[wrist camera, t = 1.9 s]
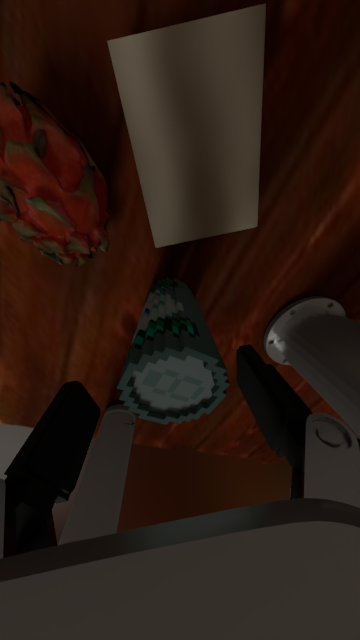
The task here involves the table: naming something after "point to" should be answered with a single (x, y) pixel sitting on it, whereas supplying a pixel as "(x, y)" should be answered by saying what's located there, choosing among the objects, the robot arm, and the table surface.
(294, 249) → the table surface
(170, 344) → the can
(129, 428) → the travel mug
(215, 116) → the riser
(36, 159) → the dragon fruit
